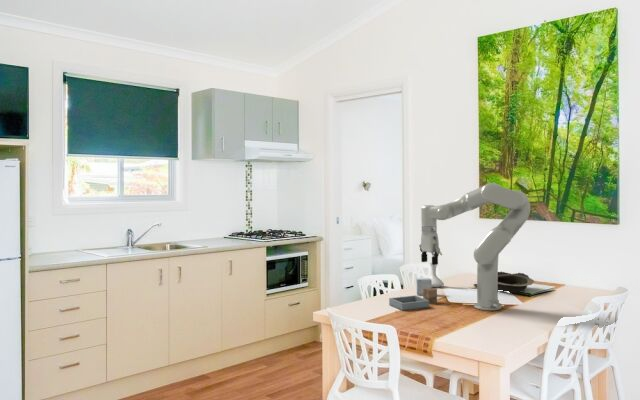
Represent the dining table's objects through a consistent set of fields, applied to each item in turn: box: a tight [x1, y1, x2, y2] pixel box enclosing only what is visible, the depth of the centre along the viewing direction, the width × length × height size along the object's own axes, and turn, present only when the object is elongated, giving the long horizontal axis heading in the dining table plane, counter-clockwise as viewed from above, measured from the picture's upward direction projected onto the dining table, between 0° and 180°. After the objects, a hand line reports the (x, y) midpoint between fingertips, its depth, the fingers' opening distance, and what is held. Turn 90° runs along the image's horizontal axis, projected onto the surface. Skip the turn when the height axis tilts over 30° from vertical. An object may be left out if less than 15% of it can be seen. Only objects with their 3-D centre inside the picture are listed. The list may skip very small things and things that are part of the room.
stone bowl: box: [498, 271, 535, 294], centre depth 295 cm, size 25×25×9 cm
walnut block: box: [422, 287, 438, 305], centre depth 271 cm, size 5×5×7 cm
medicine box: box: [415, 277, 433, 296], centre depth 289 cm, size 8×4×9 cm, turn 84°
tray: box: [388, 294, 430, 312], centre depth 263 cm, size 13×15×4 cm
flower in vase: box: [429, 250, 445, 288], centre depth 310 cm, size 13×11×25 cm
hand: (429, 263), depth 270 cm, fingers open, 9 cm apart
